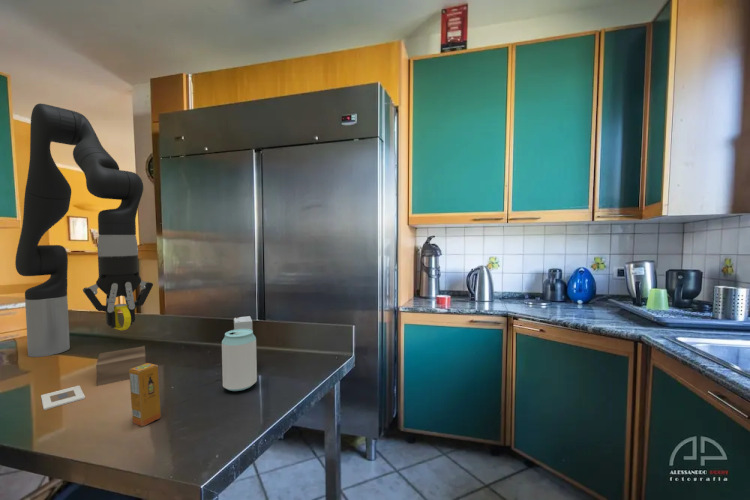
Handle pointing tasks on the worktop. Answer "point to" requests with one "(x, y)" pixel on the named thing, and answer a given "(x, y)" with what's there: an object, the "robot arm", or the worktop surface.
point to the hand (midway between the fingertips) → (121, 325)
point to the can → (239, 359)
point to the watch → (125, 313)
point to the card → (62, 397)
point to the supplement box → (145, 394)
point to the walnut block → (118, 364)
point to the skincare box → (243, 323)
